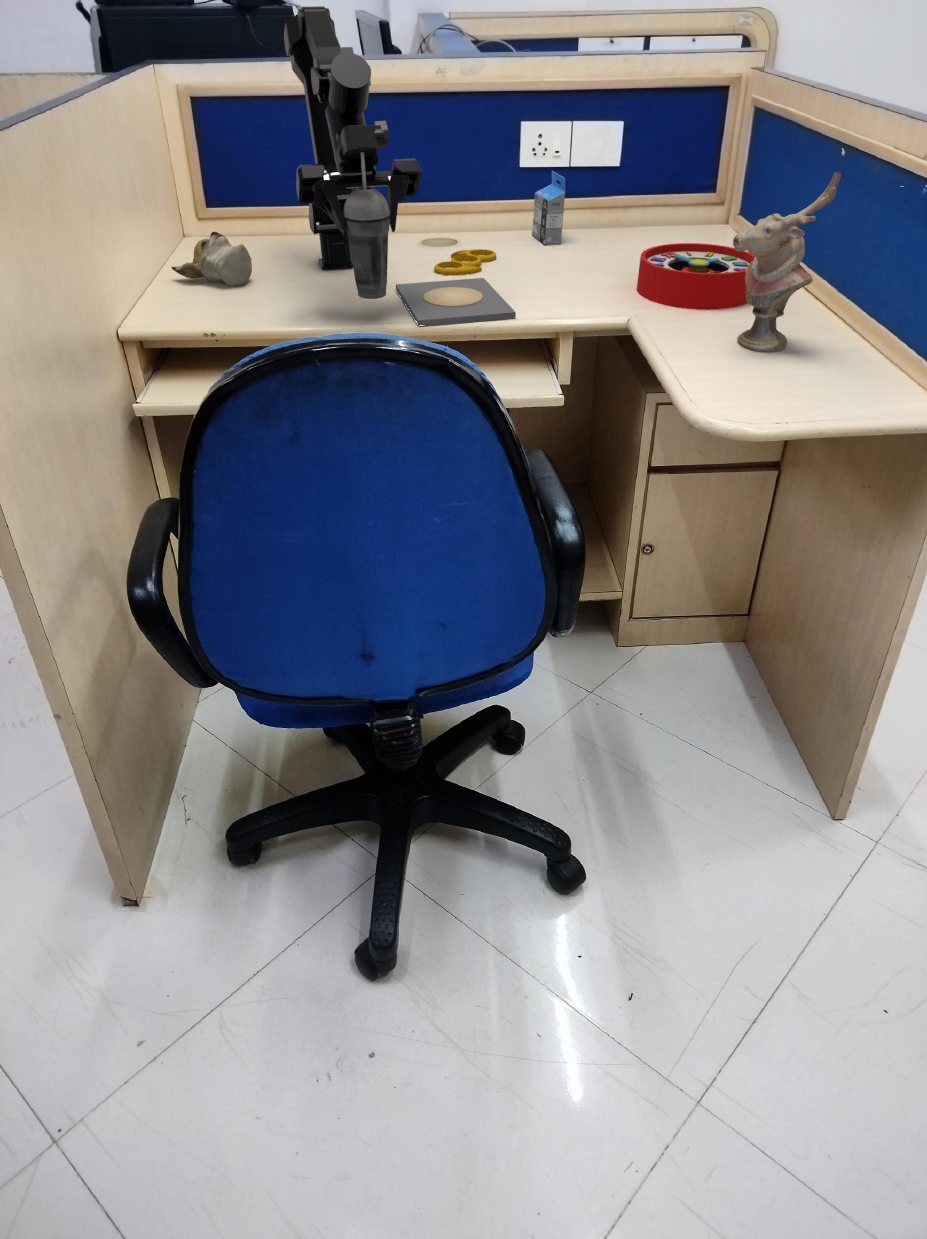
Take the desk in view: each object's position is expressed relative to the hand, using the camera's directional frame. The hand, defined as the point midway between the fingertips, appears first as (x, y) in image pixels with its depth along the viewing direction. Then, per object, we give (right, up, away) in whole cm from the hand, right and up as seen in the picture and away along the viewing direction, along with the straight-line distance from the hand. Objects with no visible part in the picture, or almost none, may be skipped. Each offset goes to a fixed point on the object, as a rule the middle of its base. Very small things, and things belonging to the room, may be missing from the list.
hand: (369, 232), depth 128 cm
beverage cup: (0, -7, +7) cm, 10 cm away
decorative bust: (+58, -17, -1) cm, 60 cm away
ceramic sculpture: (-30, +3, +26) cm, 40 cm away
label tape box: (+32, +21, +49) cm, 62 cm away
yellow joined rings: (+15, +9, +34) cm, 38 cm away
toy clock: (+55, -2, +20) cm, 58 cm away
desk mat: (+12, -5, +15) cm, 20 cm away
